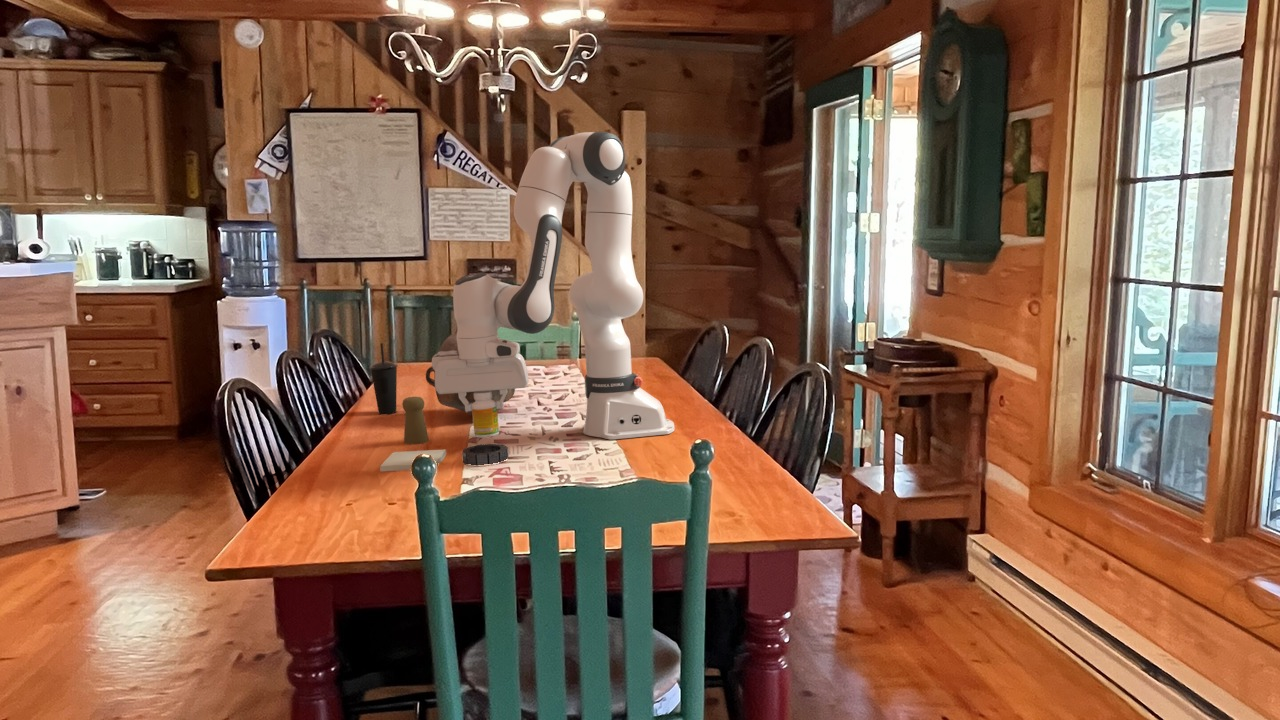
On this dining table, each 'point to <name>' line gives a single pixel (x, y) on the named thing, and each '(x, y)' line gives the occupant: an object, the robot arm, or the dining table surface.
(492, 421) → the supplement bottle
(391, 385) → the drinking cup
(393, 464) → the board
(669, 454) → the dining table surface
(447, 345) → the jug
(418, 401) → the brown pawn
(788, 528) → the dining table surface
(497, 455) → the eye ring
